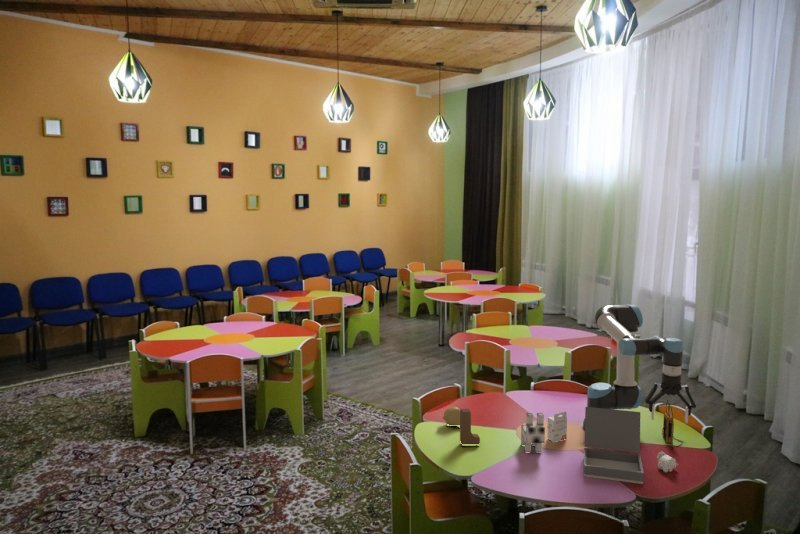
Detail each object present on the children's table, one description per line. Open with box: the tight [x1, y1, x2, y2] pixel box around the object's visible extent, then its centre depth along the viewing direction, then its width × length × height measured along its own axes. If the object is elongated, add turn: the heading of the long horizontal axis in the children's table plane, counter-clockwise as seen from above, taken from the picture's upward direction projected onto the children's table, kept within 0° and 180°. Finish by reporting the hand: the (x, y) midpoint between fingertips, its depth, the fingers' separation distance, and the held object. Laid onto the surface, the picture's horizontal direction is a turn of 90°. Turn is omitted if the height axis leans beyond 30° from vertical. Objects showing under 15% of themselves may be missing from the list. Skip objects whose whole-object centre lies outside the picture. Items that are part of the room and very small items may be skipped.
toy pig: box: [442, 405, 461, 425], centre depth 309 cm, size 10×12×11 cm
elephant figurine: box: [656, 451, 679, 473], centre depth 260 cm, size 8×10×7 cm
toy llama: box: [520, 412, 546, 453], centre depth 280 cm, size 8×18×20 cm, turn 1°
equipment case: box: [583, 447, 645, 485], centre depth 259 cm, size 24×18×5 cm
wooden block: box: [459, 408, 481, 444], centre depth 286 cm, size 9×4×18 cm, turn 97°
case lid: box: [583, 406, 641, 454], centre depth 271 cm, size 24×18×2 cm
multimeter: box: [661, 399, 688, 448], centre depth 288 cm, size 15×10×20 cm
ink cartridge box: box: [547, 411, 568, 443], centre depth 291 cm, size 9×5×15 cm, turn 118°
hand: (669, 420), depth 257 cm, fingers open, 13 cm apart
